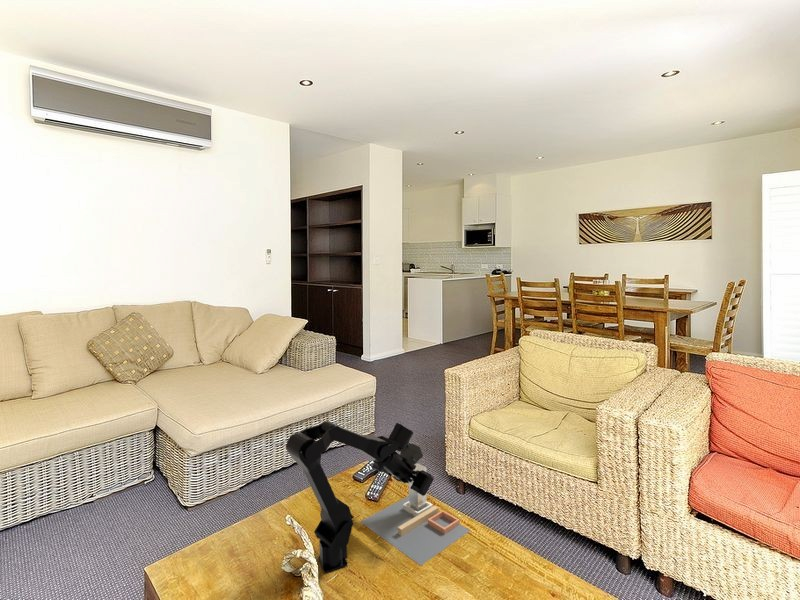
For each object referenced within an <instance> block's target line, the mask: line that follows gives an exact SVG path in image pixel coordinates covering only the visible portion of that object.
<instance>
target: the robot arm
mask: <svg viewBox="0 0 800 600" xmlns="http://www.w3.org/2000/svg"><path fill="white" fill-rule="evenodd" d="M414 434H415V433H414V431H413V430H411V429H409V428H407V427H405V425H403V424H401V423H399V422H396V423H395V425H394V427H393V429H392V431H391V433H390V434H389V435H388V437H386V436H384V435H379V436H375V435H373V434H371V435H370V434H359V433H356V432H355V431H352V430H349V429H347V428H344V427H342V426H339V425H337V424H336V423H334V422H331V421H327V420H326V421H323V422H321V423H319V424H318V425H315V426H311V427H307V428H304V429H303V430H301V431H299V432H298V431H297V432H295V433H293V434H292V435H291V436H290V437H289V438H288V439H287V441H286V442H287V443H286V444H285V450H286V452H287V453H288V454H289V455H290V457H291V459H292V460H293V461H294V462H295V463H296V464H297V465H299V467H300V468H301V469H302V470H303V473H304V475H305V477H306V479H307V481H308V483H309V485H310V488H311V490H312V491H313V494H314V496H315V498H316V500H317V502H318V504H319V506H320V509H321V510H320V519H321V520H320V521H319V523H318V524H317V526H316V528H315V530H314V531H313V532H314V536H315V537H316V538H317V539H318V540H319V545H318V546H319V556H318V557H317V560H318V562H319V564H320V567H321V569H322V571H323V573H325V574H326V572H327V573H329V572H332V571H334V570H335V571H336V570H338V569H341V568H344V567H347V566H348V561H347V559H348V544H349V541H350V538H351V533H352V530H353V526H354V520H353V519H355V518H354V516H353V514H352V512H351V508H350V507H349V506H348V505H347V504H346V503H344V501H342V500H340V499H339V498H337V497H336V495H335V493H334V490H333V488H332V486H331V484H330V482H329V479H328V477H327V475H326V473H325V471H324V468H323V467H322V464H321V460H322V454H323V453H324V452H326V451H327V449H328V448H329V447H330V445H331V443H333V442H338V443H341V444H344V445H346V446H349V447H352V448H355V449H357V450H359V452H361V453H362V454H364V455H366V456H368V457H370V458H372V459H374V460H373V461H372V462H373V463H372V469H374V470H376V471H378V472H380V473H384V474H386V475H387V476H388V477H393V479H394V480H396V481H397V482H400V483H403V484H409V482H410V483H411V482H412V481H413V484H412V486H411V489H412V490H414V491H416V492H417V493H419V494H421V495H422V496H424V495H426V493H427V494H428V491H429V489H430V488H431V485H432V484H433V482H434V479H435V477H434V476H433V475H432V474H431V473H429V472H427V471H426V472H425V471H424V470H422V471H421V470H420V471H418V470H417V471H414V470H415V468H416V465H415V464H417V463H418V462H419V461H420V460H421V459H422V458H423V457H424V453H423V451H422V449H421V447H420V446H419V445H417V444H415V443H410V441H411V439H412V438H413V437H414ZM398 452H400V454H399V453H398ZM410 478H412V479H410Z"/></svg>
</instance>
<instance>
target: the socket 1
mask: <svg viewBox="0 0 800 600" xmlns="http://www.w3.org/2000/svg"><path fill="white" fill-rule="evenodd" d="M433 506H434V504H433V503H431V502H429V501H427V507H425V508H424V509H422V510H420V511H418V512H417V511H416V510H414V509H412V508H411V507H409V501H408V502H406V503H404V504H403V509H404V510H406V511H407V512H409V513H411V514H412V515H414V516H418V515H419V514H421V513H423V512H425V511H426V510H428V509H430V508H431V507H433Z"/></svg>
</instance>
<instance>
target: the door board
mask: <svg viewBox="0 0 800 600" xmlns="http://www.w3.org/2000/svg"><path fill="white" fill-rule="evenodd" d="M408 501H409V495H408V496H406V497H404V498H402V499H400V500H398V501H397V502H395V503H392V504H391V505H389V506H387V507H385V508H383V509H382V510H380V511H378V512H376V513H374V514H372V515H369V516H368V517H366V518H364V519H362V520H361V521H360V524H362V525H363V526H366V528H368V529H369V530H371V532H374V533H375V534H376V535H378V536H379V537H380V538H382V539H383V540H385V541H386V542H387V543H388V544H390V545H391V546H393V548H395V549H397V550H399V551H400V552H401V553H402V554H404V555H405V556H407V557H409V559H411V560H412V561H413V562H415V563H416V564H418V565H419V566H422V565H424V564H426V562H428V561H430V560H431V559H432V558H434V557H435V556H436V555H438V554H439V553H441V552H442V551H444V550H445V549H447V548H448V547H450V546H451V545H452V544H454V543H455V542H457V541H458V540H460V539H461V538H463V537H464V536H465V535H466V534H468V533H470V532H471V531H472V530H471V529H469V528H468V527H466V526H464V525H463V524H460V525H458V526H457V527H455V528H454V529H452V530H451V531H449V532H448V533H446V534H443V533H442V532H440V531H438V530H437V529H435V528H433V527H432V526H430V525H429V524H428V519H429V518H431V517H432V516H434V515H436V514H437V513H439V512H440V507H439V506H438V505H433V507H431V508H430V509H428V510H426V511H425V512H423V513H421V514H419V515H418V516H414V515H412V514H411V513H409V512H407V511H406V510H404V509H403V504H404V503H406V502H408ZM412 509H413V508H412ZM423 509H424V508H423ZM421 510H422V509H421ZM417 512H418V511H417ZM435 522H436V523H437V524H439V525H441V526H442V527H444V528H445V527H446V526H448V525H449V524H451V523H453V522H452V521H450V520H448V519H447V518H445V517H441V518H439V519H438V520H436V521H435Z"/></svg>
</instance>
